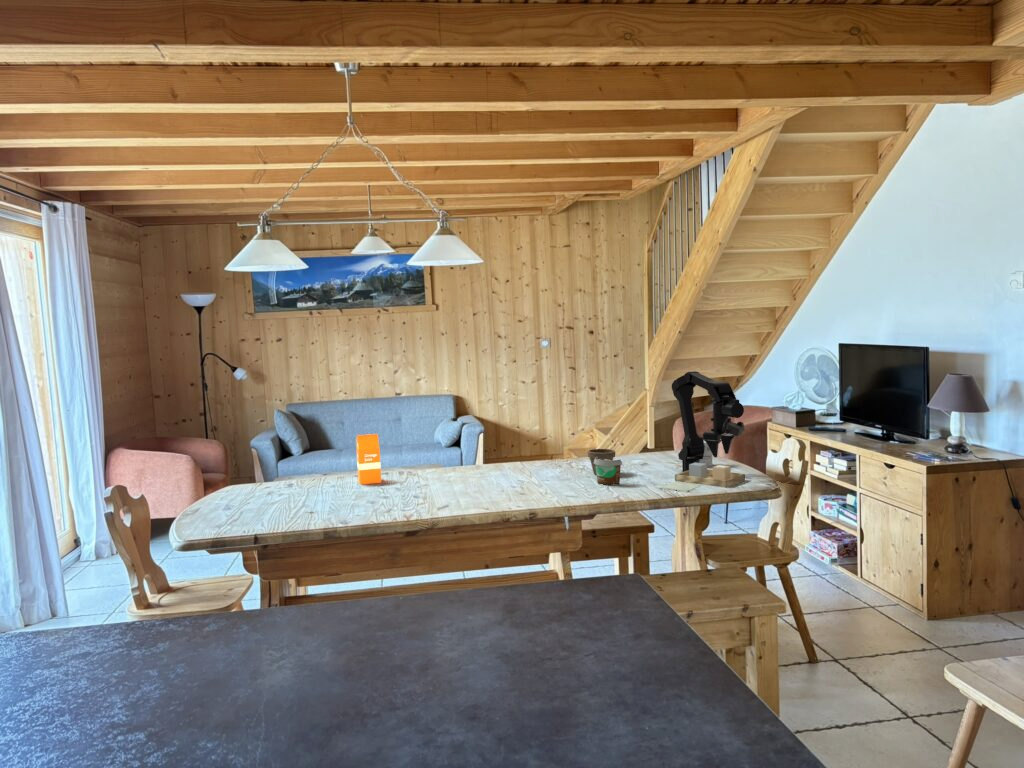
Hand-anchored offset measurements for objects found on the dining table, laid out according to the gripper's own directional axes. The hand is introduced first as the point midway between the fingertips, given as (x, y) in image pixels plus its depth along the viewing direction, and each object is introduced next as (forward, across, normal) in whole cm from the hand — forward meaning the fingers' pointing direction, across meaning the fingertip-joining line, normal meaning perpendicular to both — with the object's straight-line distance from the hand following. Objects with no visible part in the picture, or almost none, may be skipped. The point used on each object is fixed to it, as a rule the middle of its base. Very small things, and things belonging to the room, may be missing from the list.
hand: (721, 455), depth 292 cm
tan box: (+10, 0, 0) cm, 10 cm away
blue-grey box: (+10, 0, +10) cm, 14 cm away
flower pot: (+11, -10, +49) cm, 51 cm away
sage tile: (+11, -15, +9) cm, 21 cm away
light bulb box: (+11, +27, +24) cm, 38 cm away
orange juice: (+11, -74, +123) cm, 144 cm away
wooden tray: (+11, 0, +5) cm, 12 cm away
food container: (+11, -25, +37) cm, 46 cm away
